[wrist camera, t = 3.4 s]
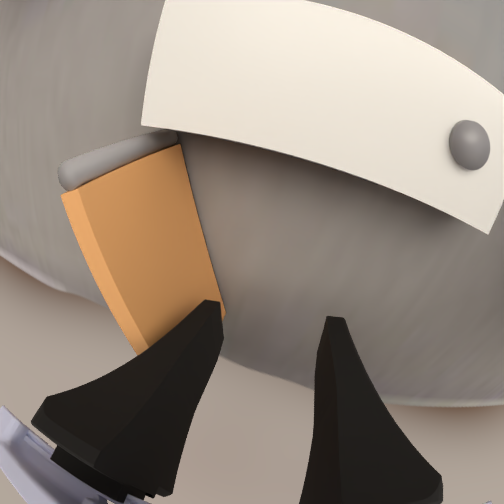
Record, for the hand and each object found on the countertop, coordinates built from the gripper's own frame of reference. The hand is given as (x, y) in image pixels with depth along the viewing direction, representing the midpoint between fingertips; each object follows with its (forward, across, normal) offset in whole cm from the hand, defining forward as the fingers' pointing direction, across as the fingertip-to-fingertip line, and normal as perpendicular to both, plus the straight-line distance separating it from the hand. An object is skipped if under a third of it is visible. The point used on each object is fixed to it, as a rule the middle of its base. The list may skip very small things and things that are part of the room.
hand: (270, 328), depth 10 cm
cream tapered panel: (+4, -2, -8) cm, 9 cm away
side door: (+3, +4, -2) cm, 6 cm away
